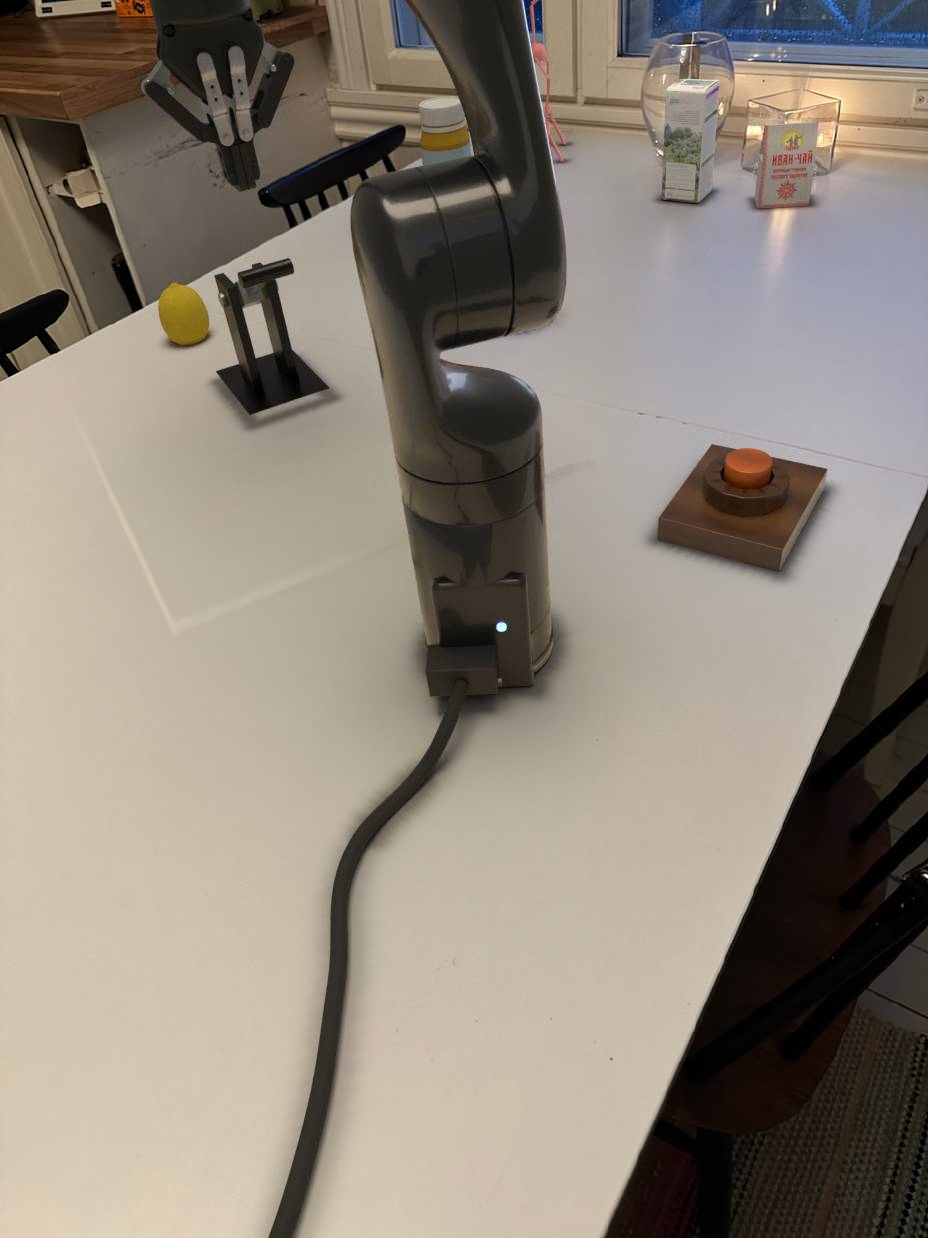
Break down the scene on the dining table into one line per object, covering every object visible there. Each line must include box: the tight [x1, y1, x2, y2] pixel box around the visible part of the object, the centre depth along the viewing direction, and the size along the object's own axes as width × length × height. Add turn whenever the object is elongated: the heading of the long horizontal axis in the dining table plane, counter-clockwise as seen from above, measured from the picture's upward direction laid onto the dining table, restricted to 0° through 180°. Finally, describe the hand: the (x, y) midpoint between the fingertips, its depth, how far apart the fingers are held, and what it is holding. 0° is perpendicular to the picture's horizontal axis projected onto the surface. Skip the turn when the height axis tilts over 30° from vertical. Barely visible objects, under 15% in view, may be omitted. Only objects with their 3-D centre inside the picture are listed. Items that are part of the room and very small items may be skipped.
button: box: [724, 447, 772, 490], centre depth 74 cm, size 4×4×2 cm
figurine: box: [529, 0, 573, 163], centre depth 143 cm, size 15×26×35 cm, turn 173°
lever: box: [233, 257, 295, 310], centre depth 90 cm, size 12×5×2 cm, turn 28°
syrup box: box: [661, 78, 721, 204], centre depth 129 cm, size 6×6×14 cm
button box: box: [656, 443, 828, 572], centre depth 76 cm, size 12×10×4 cm
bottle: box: [418, 95, 472, 166], centre depth 132 cm, size 7×7×15 cm
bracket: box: [213, 261, 330, 416], centre depth 97 cm, size 12×9×13 cm
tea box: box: [753, 120, 819, 210], centre depth 125 cm, size 4×7×10 cm, turn 84°
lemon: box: [157, 282, 210, 346], centre depth 109 cm, size 6×6×8 cm
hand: (245, 187), depth 80 cm, fingers closed
